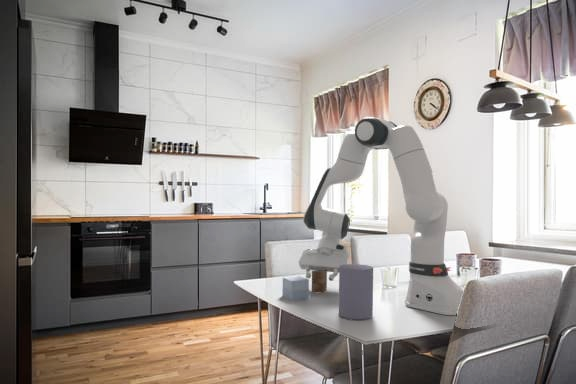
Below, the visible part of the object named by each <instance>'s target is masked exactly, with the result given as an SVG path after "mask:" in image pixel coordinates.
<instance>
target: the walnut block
mask: <svg viewBox="0 0 576 384" xmlns="http://www.w3.org/2000/svg"><path fill="white" fill-rule="evenodd" d="M327 281H328V272H327V270H319V269H316V270H311V293H317V292H318V294H319V293H320V294H324V293H325V291H326V292H327V291H328V289H327V287H328V286H327V284H328V282H327Z"/></svg>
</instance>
